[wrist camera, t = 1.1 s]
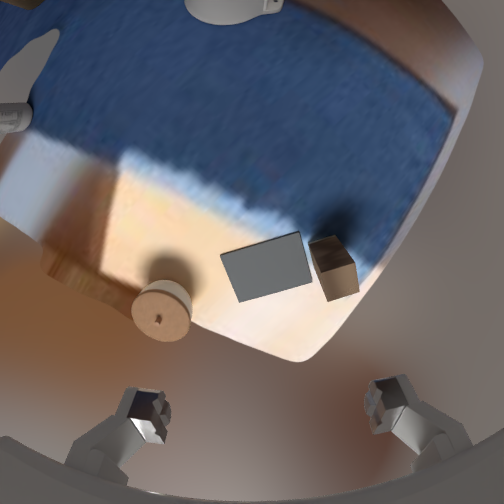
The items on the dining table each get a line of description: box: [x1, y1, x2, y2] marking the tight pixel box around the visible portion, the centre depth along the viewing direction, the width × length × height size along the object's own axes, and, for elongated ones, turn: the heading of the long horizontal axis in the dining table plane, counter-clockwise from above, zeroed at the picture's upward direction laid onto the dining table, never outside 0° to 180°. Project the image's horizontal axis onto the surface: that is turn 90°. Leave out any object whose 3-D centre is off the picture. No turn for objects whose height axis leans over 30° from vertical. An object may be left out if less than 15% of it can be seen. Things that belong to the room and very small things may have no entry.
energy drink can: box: [0, 103, 33, 134], centre depth 30 cm, size 6×6×15 cm
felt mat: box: [220, 232, 312, 303], centre depth 49 cm, size 14×10×1 cm
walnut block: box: [308, 235, 360, 302], centre depth 43 cm, size 5×5×11 cm
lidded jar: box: [131, 280, 192, 342], centre depth 48 cm, size 11×11×9 cm
